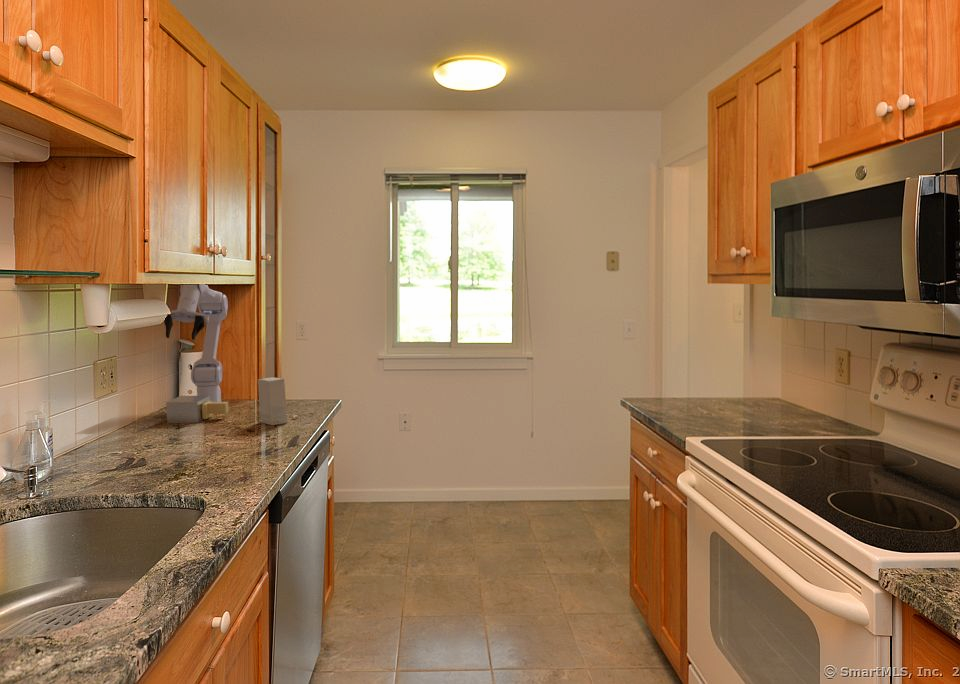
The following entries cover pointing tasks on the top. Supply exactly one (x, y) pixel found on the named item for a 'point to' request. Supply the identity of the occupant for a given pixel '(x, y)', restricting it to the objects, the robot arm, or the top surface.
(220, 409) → the end cover
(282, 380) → the skincare box
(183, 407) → the block
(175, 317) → the robot arm
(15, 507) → the top surface
